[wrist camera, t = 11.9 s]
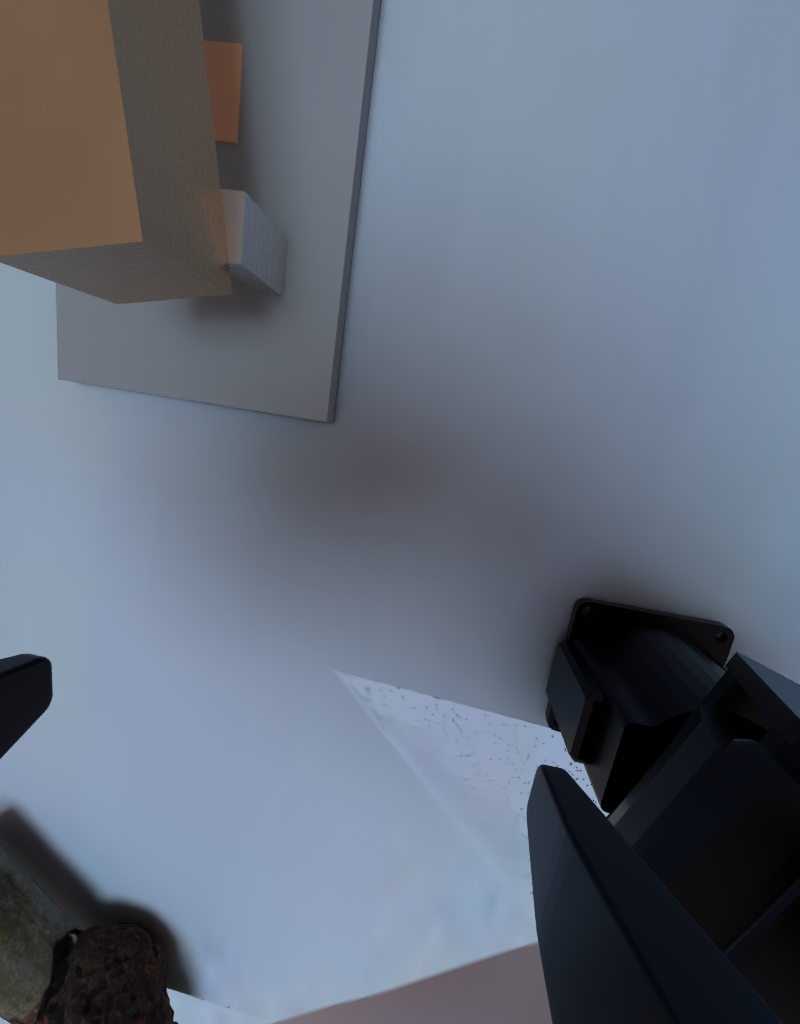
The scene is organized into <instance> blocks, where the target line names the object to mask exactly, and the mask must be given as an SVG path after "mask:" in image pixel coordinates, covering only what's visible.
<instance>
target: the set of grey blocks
mask: <svg viewBox="0 0 800 1024" xmlns="http://www.w3.org/2000/svg"><path fill="white" fill-rule="evenodd" d="M221 198H222V207H223V216H224V225H225V234H226V243H227V252H228V261H229V269H230V274H231V275H233V276H234V277H235V278H237V279H238V280H240V281H241V282H243V283H244V284H246V285H247V286H249V287H250V288H252V289H253V290H254V291H256V292H257V293H259V294H264V295H271V296H279V297H284V288H285V277H286V265H287V253H288V240H287V239H286V237H285V236H284V235H283V234H282V233H281V232H280V231H279V229H278V228H277V227H276V226H275V225H274V224H273V223H272V221H271V220H270V219H269V218H268V217H267V216H266V215H265V213H264V212H263V211H262V210H261V209H260V208H259V207H258V206H257V204H256V203H255V202H254V201H253V200H252V199H251V198H250V196H249V195H248V194H247V193H246V192H244V191H236V190H227V189H221Z"/></svg>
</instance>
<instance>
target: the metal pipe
mask: <svg viewBox="0 0 800 1024" xmlns="http://www.w3.org/2000/svg"><path fill="white" fill-rule="evenodd" d="M167 964H168V961H167V957H166V955H165V953H164V951H163V949H162V947H161V945H160V944H159V943H156V942H154V941H151V938H150V935H149V934H148V933H147V932H146V931H145V930H144V929H142V928H140V927H138V926H137V925H136V924H127V925H124V924H117V925H113V926H111V925H108V926H106V927H103V926H93V927H90V928H88V929H87V930H85V931H84V930H82V929H81V928H80V927H79V926H78V925H77V924H76V923H75V922H73V921H72V920H71V919H70V917H69V916H68V915H67V914H66V913H65V912H64V911H63V910H62V909H61V908H60V907H59V906H58V905H57V904H56V903H55V902H54V901H53V899H52V898H51V897H50V896H49V895H48V894H47V893H46V892H45V891H44V890H43V889H42V888H41V887H40V886H39V885H38V884H37V883H36V882H35V881H34V879H33V878H32V877H31V876H30V875H29V874H28V873H27V872H26V871H25V870H24V869H23V868H22V867H21V866H20V865H19V864H18V863H17V861H16V860H15V859H14V858H13V857H12V856H11V855H10V854H9V853H8V852H7V851H6V850H5V849H4V848H3V847H2V846H1V845H0V1017H1V1018H3V1019H4V1020H6V1021H8V1022H9V1023H11V1024H178V1023H177V1022H174V1021H173V1016H174V1011H173V1009H172V1007H171V1006H170V999H169V997H168V994H167V989H166V982H165V968H166V966H167Z"/></svg>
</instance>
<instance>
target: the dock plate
mask: <svg viewBox="0 0 800 1024" xmlns="http://www.w3.org/2000/svg"><path fill="white" fill-rule="evenodd" d="M199 2H200V11H201V19H202V28H203V37H204V46H205V55H206V64H207V73H208V82H209V91H210V100H211V109H212V118H213V127H214V136H215V144H216V153H217V162H218V171H219V180H220V189H227V190H236V191H244V192H246V193H247V194H248V195H249V196H250V198H251V199H252V200H253V201H254V202H255V203H256V204H257V206H258V207H259V208H260V209H261V210H262V211H263V212H264V213H265V215H266V216H267V217H268V218H269V219H270V220H271V221H272V223H273V224H274V225H275V226H276V227H277V228H278V229H279V231H280V232H281V233H282V234H283V235H284V236H285V237H286V239H287V240H288V253H287V265H286V277H285V288H284V297H279V296H271V295H264V294H259V293H257V292H256V291H254V290H253V289H252V288H250V287H249V286H247V285H246V284H244V283H243V282H241V281H240V280H238V279H237V278H235V277H234V276H233V275H231V274H230V278H231V287H232V295H222V296H210V297H199V298H187V299H175V300H163V301H151V302H139V303H127V304H115V303H112V302H109V301H106V300H103V299H101V298H98V297H95V296H92V295H90V294H87V293H84V292H81V291H78V290H76V289H73V288H70V287H67V286H64V285H62V284H59V283H56V305H57V343H58V379H59V380H65V381H72V382H78V383H84V384H91V385H97V386H103V387H109V388H116V389H122V390H128V391H134V392H141V393H147V394H153V395H159V396H166V397H172V398H178V399H185V400H191V401H197V402H203V403H210V404H216V405H222V406H228V407H235V408H241V409H247V410H253V411H260V412H266V413H272V414H279V415H285V416H291V417H297V418H304V419H310V420H316V421H322V422H333V418H334V409H335V400H336V392H337V383H338V374H339V365H340V357H341V348H342V339H343V330H344V322H345V313H346V304H347V295H348V287H349V278H350V269H351V261H352V252H353V243H354V234H355V226H356V217H357V208H358V199H359V191H360V182H361V173H362V164H363V156H364V147H365V138H366V130H367V121H368V112H369V103H370V95H371V86H372V77H373V68H374V60H375V51H376V42H377V33H378V25H379V16H380V7H381V0H199Z"/></svg>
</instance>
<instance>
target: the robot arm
mask: <svg viewBox="0 0 800 1024" xmlns="http://www.w3.org/2000/svg"><path fill="white" fill-rule="evenodd" d="M586 607H591V611H590V613H588V614H583V613H582V611H583V609H584V608H586ZM719 632H722V634H721V636H720V637H718V638H715V635H716V634H717V633H719ZM733 640H734V633H733V631H732V630H731V629H730V628H728V627H727V626H726V625H724V624H722V623H719V622H714V621H709V620H704V619H698V618H693V617H687V616H682V615H676V614H671V613H666V612H660V611H655V610H649V609H644V608H638V607H633V606H628V605H622V604H617V603H611V602H606V601H600V600H595V599H590V598H583V599H580V600H578V601H577V602H576V603H575V605H574V608H573V612H572V616H571V619H570V623H569V627H568V631H567V635H566V638H565V640H563V641H561V642H560V643H559V644H558V646H557V650H556V654H555V657H554V661H553V665H552V669H551V673H550V677H549V681H548V684H547V688H546V693H547V695H548V698H549V703H548V707H547V711H546V720H547V723H548V725H549V727H550V728H551V729H552V730H555V731H558V732H561V734H562V737H563V739H564V742H565V745H566V748H567V750H568V753H569V755H570V756H571V758H572V759H573V761H574V762H578V763H582V764H584V766H585V769H586V771H587V774H588V776H589V779H590V781H591V784H592V786H593V789H594V792H595V794H596V797H597V799H598V802H599V804H600V807H601V808H602V810H603V811H605V812H607V813H610V814H609V815H608V816H607V817H605V815H604V814H603V813H602V812H601V811H600V810H599V808H598V807H597V806H596V805H595V804H594V803H593V801H592V800H591V799H590V798H589V797H588V796H587V795H586V793H585V792H584V791H583V790H582V789H581V788H580V786H579V785H578V784H577V783H576V782H575V781H574V779H573V778H572V777H571V776H570V775H569V774H568V773H567V772H566V771H565V770H564V769H562V768H558V767H553V766H548V765H540V766H539V767H538V768H537V770H536V774H535V777H534V781H533V785H532V789H531V793H530V796H529V800H528V805H527V827H528V839H529V851H530V862H531V874H532V886H533V897H534V909H535V919H536V929H537V936H538V943H539V949H540V955H541V961H542V966H543V972H544V978H545V983H546V989H547V995H548V1001H549V1006H550V1012H551V1018H552V1023H553V1024H800V685H799V684H797V683H795V682H793V681H791V680H790V679H788V678H786V677H784V676H782V675H780V674H778V673H776V672H774V671H773V670H771V669H769V668H767V667H765V666H763V665H761V664H759V663H757V662H756V661H754V660H752V659H750V658H748V657H746V656H744V655H742V654H740V653H738V652H736V653H735V655H734V656H733V657H732V658H731V660H730V661H729V662H728V663H727V664H726V667H727V668H725V667H724V665H725V663H726V660H727V657H728V654H729V651H730V649H731V646H732V643H733ZM52 696H53V691H52V665H51V662H50V660H49V659H47V658H46V657H42V656H37V655H33V654H20V655H16V656H12V657H8V658H4V659H0V759H1V758H2V757H3V756H4V754H5V753H6V752H7V751H8V750H9V749H10V748H11V747H12V746H13V745H14V744H15V743H16V742H17V741H18V740H19V739H20V737H21V736H22V735H23V734H24V733H25V732H26V731H27V730H28V729H29V728H30V727H31V726H32V725H33V724H34V723H35V722H36V720H37V719H38V718H39V717H40V716H41V715H42V714H43V713H44V712H45V711H46V710H47V708H48V707H49V705H50V703H51V700H52ZM554 718H556V720H557V721H555V720H554Z"/></svg>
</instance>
